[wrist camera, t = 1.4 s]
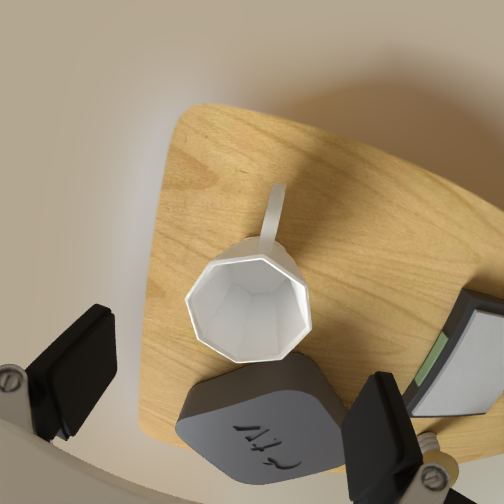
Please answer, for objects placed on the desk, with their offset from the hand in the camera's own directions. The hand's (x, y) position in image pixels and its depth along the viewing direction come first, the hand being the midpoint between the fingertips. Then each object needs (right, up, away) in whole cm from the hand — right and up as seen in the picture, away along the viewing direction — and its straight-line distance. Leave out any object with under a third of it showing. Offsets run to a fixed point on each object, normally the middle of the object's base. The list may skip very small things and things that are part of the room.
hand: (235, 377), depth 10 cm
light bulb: (+23, -21, +20) cm, 37 cm away
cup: (+2, +5, +13) cm, 14 cm away
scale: (+25, -8, +15) cm, 30 cm away
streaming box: (+3, -13, +19) cm, 23 cm away
